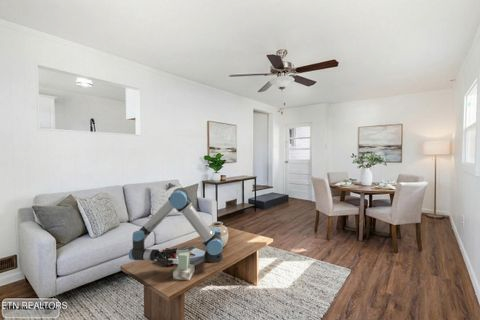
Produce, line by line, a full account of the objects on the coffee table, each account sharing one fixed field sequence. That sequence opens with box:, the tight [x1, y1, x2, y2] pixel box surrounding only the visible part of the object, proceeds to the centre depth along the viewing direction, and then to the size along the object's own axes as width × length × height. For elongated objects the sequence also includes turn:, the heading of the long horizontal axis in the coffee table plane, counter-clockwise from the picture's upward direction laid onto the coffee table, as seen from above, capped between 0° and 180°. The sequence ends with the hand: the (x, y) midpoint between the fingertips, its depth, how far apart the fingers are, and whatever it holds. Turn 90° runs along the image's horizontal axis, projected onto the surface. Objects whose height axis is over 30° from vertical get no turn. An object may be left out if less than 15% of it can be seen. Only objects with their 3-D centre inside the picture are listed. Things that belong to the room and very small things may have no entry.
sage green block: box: [177, 251, 191, 270], centre depth 158 cm, size 6×6×10 cm
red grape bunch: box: [164, 247, 178, 267], centre depth 175 cm, size 7×12×10 cm, turn 49°
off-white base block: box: [172, 263, 196, 281], centre depth 158 cm, size 11×11×5 cm
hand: (181, 256), depth 158 cm, fingers open, 13 cm apart
